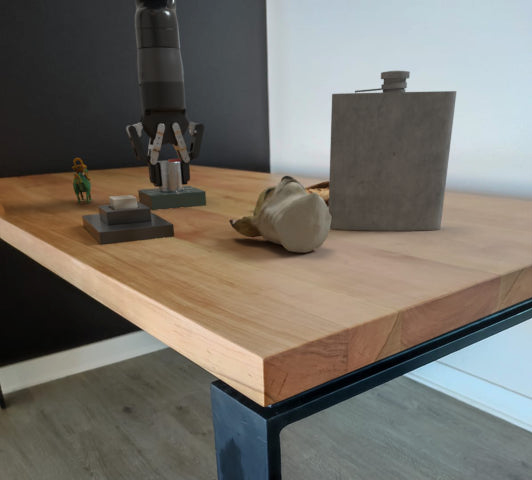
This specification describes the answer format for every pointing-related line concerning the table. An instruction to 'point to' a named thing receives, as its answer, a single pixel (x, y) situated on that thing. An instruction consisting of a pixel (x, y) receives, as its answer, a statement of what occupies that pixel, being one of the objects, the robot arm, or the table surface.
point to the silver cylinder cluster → (170, 175)
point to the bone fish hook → (320, 190)
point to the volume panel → (172, 198)
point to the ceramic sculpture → (288, 217)
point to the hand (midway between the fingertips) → (170, 184)
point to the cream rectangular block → (123, 202)
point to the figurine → (81, 181)
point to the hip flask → (389, 157)
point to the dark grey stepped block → (126, 225)
